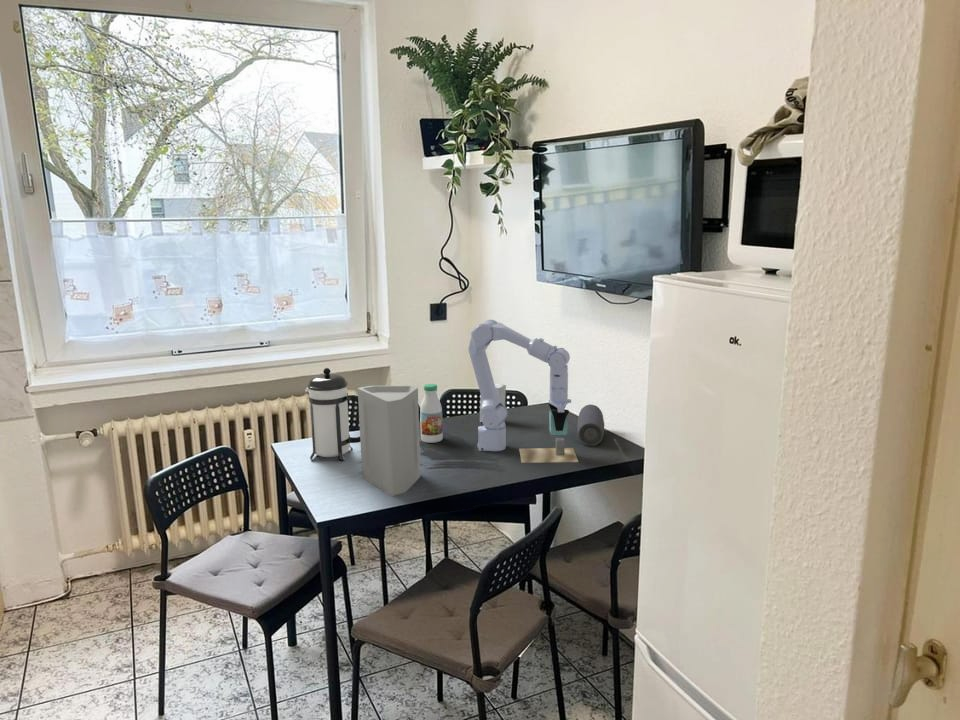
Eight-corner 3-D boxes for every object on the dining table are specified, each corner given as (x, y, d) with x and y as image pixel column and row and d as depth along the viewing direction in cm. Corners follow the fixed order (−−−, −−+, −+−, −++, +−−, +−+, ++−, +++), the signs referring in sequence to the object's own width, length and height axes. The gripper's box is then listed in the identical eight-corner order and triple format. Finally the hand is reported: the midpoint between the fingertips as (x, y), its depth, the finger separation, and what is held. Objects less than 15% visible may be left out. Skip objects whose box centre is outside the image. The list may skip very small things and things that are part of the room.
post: (556, 455, 227) (556, 440, 226) (555, 452, 230) (555, 438, 229) (564, 455, 227) (564, 440, 226) (563, 452, 230) (563, 437, 229)
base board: (521, 467, 222) (521, 462, 221) (519, 452, 234) (519, 448, 234) (578, 466, 222) (578, 461, 221) (572, 452, 234) (573, 448, 234)
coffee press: (319, 468, 223) (314, 376, 216) (302, 454, 236) (296, 366, 229) (370, 457, 232) (365, 368, 226) (350, 444, 245) (346, 360, 239)
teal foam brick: (550, 434, 224) (550, 415, 223) (549, 429, 229) (549, 410, 228) (567, 434, 224) (567, 414, 223) (565, 429, 229) (565, 410, 228)
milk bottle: (416, 439, 249) (414, 385, 245) (433, 434, 254) (432, 381, 250) (429, 444, 243) (428, 389, 239) (447, 439, 248) (446, 385, 244)
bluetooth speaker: (604, 450, 236) (605, 422, 234) (576, 449, 237) (577, 421, 235) (603, 429, 258) (604, 403, 256) (577, 428, 259) (578, 402, 257)
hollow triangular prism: (435, 483, 209) (433, 393, 203) (391, 496, 201) (387, 401, 195) (403, 465, 224) (400, 380, 218) (361, 476, 216) (356, 388, 210)
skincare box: (479, 422, 267) (479, 384, 264) (486, 418, 273) (486, 381, 269) (499, 425, 264) (499, 387, 260) (506, 421, 269) (506, 383, 266)
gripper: (574, 392, 217) (573, 434, 219) (568, 381, 231) (568, 420, 234) (551, 392, 217) (551, 434, 219) (547, 381, 231) (546, 421, 234)
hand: (558, 427), depth 227 cm, fingers closed on teal foam brick, 5 cm apart
